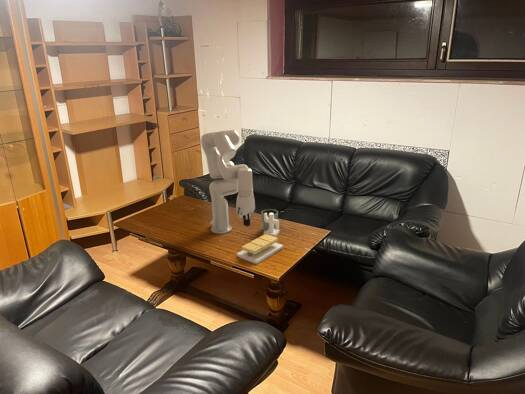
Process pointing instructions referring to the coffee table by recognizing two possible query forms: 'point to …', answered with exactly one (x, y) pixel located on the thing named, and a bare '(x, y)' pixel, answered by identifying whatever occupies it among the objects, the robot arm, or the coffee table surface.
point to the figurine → (271, 225)
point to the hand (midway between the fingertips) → (246, 225)
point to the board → (260, 253)
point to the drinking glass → (265, 224)
